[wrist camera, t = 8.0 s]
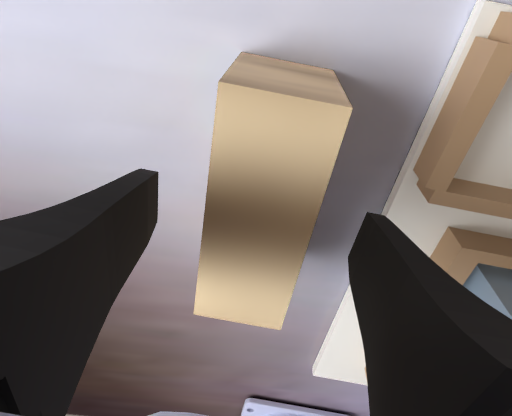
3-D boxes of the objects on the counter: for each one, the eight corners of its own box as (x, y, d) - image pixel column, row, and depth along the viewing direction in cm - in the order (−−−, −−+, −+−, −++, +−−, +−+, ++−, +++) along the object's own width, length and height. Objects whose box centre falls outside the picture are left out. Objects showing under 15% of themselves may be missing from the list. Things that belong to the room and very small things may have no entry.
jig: (497, 400, 23) (514, 434, 21) (312, 367, 23) (314, 398, 21) (838, 74, 12) (935, 90, 10) (477, -1, 11) (511, 1, 10)
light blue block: (460, 367, 21) (516, 490, 16) (403, 357, 21) (440, 477, 15) (542, 269, 16) (656, 395, 11) (470, 256, 16) (552, 377, 11)
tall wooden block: (282, 250, 18) (280, 330, 14) (216, 237, 18) (193, 314, 14) (332, 69, 13) (352, 107, 9) (241, 51, 13) (218, 81, 9)
